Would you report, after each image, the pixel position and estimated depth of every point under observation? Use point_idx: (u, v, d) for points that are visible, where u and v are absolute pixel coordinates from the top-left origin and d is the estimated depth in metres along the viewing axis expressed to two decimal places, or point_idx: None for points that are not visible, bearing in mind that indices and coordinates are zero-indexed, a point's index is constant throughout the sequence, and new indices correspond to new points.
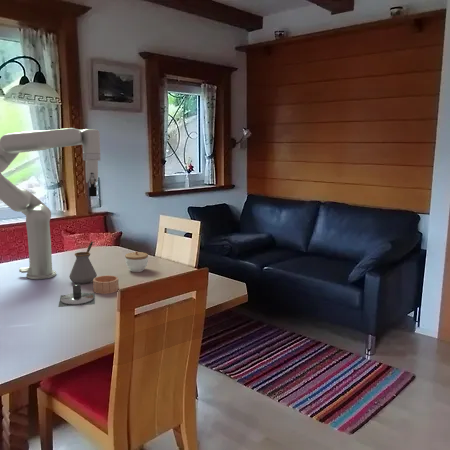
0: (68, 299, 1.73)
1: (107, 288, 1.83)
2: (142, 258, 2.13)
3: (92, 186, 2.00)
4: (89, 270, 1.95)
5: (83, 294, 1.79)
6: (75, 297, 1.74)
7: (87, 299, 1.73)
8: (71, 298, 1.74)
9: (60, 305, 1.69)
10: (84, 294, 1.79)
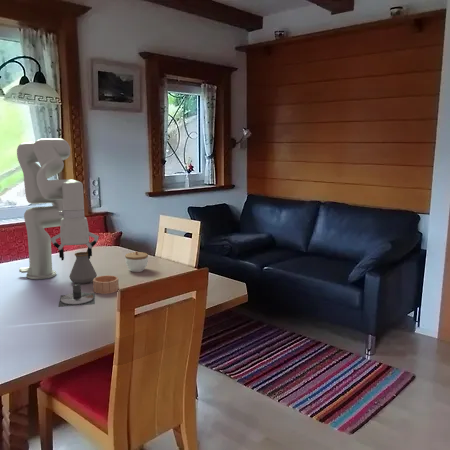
0: (68, 299, 1.73)
1: (107, 288, 1.83)
2: (142, 258, 2.13)
3: (92, 246, 1.73)
4: (89, 270, 1.95)
5: (83, 294, 1.79)
6: (75, 297, 1.74)
7: (87, 299, 1.73)
8: (71, 298, 1.74)
9: (60, 305, 1.69)
10: (84, 294, 1.79)
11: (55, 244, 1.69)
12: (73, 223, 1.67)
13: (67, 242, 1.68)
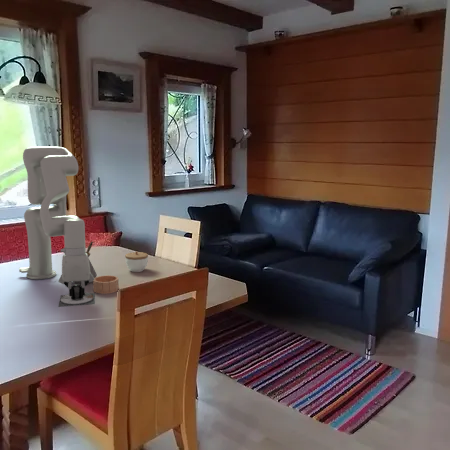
0: (68, 299, 1.73)
1: (107, 288, 1.83)
2: (142, 258, 2.13)
3: None
4: None
5: None
6: (75, 297, 1.74)
7: (87, 299, 1.73)
8: None
9: (60, 305, 1.69)
10: None
11: (65, 283, 1.72)
12: (75, 260, 1.70)
13: (68, 279, 1.71)
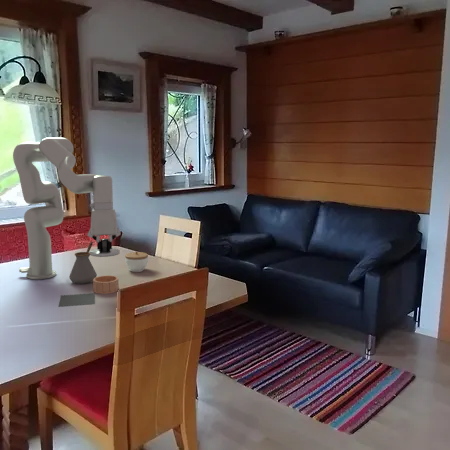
0: (96, 252, 1.83)
1: (107, 288, 1.83)
2: (142, 258, 2.13)
3: None
4: (89, 270, 1.95)
5: (110, 249, 1.89)
6: (103, 250, 1.83)
7: (114, 252, 1.83)
8: None
9: (60, 305, 1.69)
10: (110, 249, 1.89)
11: (94, 237, 1.82)
12: (103, 215, 1.80)
13: (97, 232, 1.80)
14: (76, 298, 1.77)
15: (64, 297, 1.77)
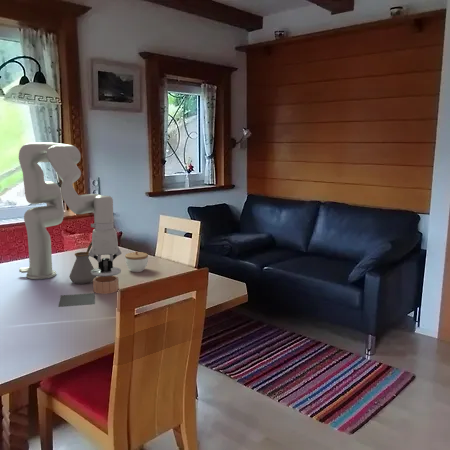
0: (97, 272, 1.84)
1: (107, 288, 1.83)
2: (142, 258, 2.13)
3: None
4: (89, 270, 1.95)
5: (111, 268, 1.90)
6: (104, 270, 1.85)
7: (115, 271, 1.84)
8: (100, 271, 1.85)
9: (60, 305, 1.69)
10: (111, 268, 1.90)
11: (95, 256, 1.83)
12: (104, 235, 1.81)
13: (98, 252, 1.82)
14: (76, 298, 1.77)
15: (64, 297, 1.77)
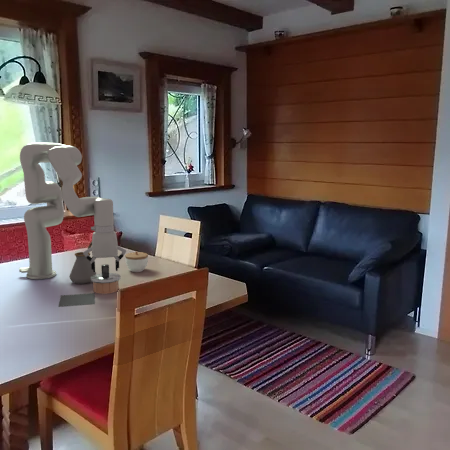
0: (97, 278, 1.85)
1: (107, 288, 1.83)
2: (142, 258, 2.13)
3: None
4: (89, 270, 1.95)
5: (110, 274, 1.91)
6: (104, 276, 1.85)
7: (115, 278, 1.85)
8: (100, 277, 1.86)
9: (60, 305, 1.69)
10: (111, 274, 1.91)
11: (88, 257, 1.83)
12: (104, 238, 1.81)
13: (98, 255, 1.82)
14: (76, 298, 1.77)
15: (64, 297, 1.77)
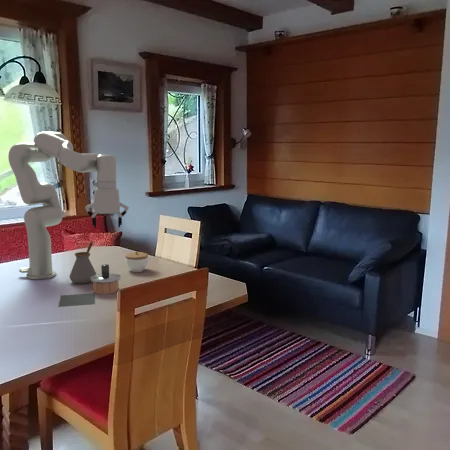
0: (97, 278, 1.85)
1: (107, 288, 1.83)
2: (142, 258, 2.13)
3: (122, 216, 1.88)
4: (89, 270, 1.95)
5: (110, 274, 1.91)
6: (104, 276, 1.85)
7: (115, 278, 1.85)
8: (100, 277, 1.86)
9: (60, 305, 1.69)
10: (111, 274, 1.91)
11: (89, 212, 1.83)
12: (106, 193, 1.82)
13: (100, 211, 1.82)
14: (76, 298, 1.77)
15: (64, 297, 1.77)
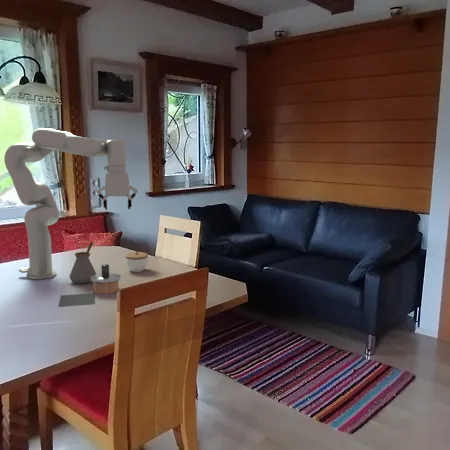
0: (97, 278, 1.85)
1: (107, 288, 1.83)
2: (142, 258, 2.13)
3: (132, 198, 1.96)
4: (89, 270, 1.95)
5: (110, 274, 1.91)
6: (104, 276, 1.85)
7: (115, 278, 1.85)
8: (100, 277, 1.86)
9: (60, 305, 1.69)
10: (111, 274, 1.91)
11: (100, 195, 1.91)
12: (117, 176, 1.90)
13: (111, 193, 1.91)
14: (76, 298, 1.77)
15: (64, 297, 1.77)
